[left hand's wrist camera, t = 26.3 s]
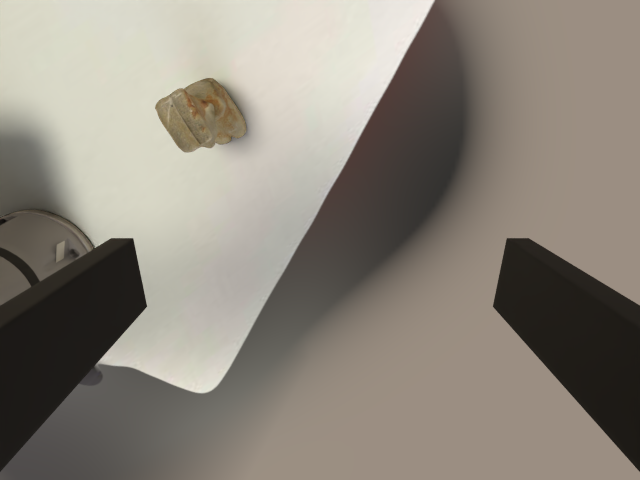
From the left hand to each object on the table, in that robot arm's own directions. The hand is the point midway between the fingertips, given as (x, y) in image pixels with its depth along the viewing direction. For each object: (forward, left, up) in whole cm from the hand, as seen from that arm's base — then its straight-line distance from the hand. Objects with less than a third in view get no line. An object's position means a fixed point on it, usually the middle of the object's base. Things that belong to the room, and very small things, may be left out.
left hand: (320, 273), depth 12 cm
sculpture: (-1, +13, -36) cm, 38 cm away
